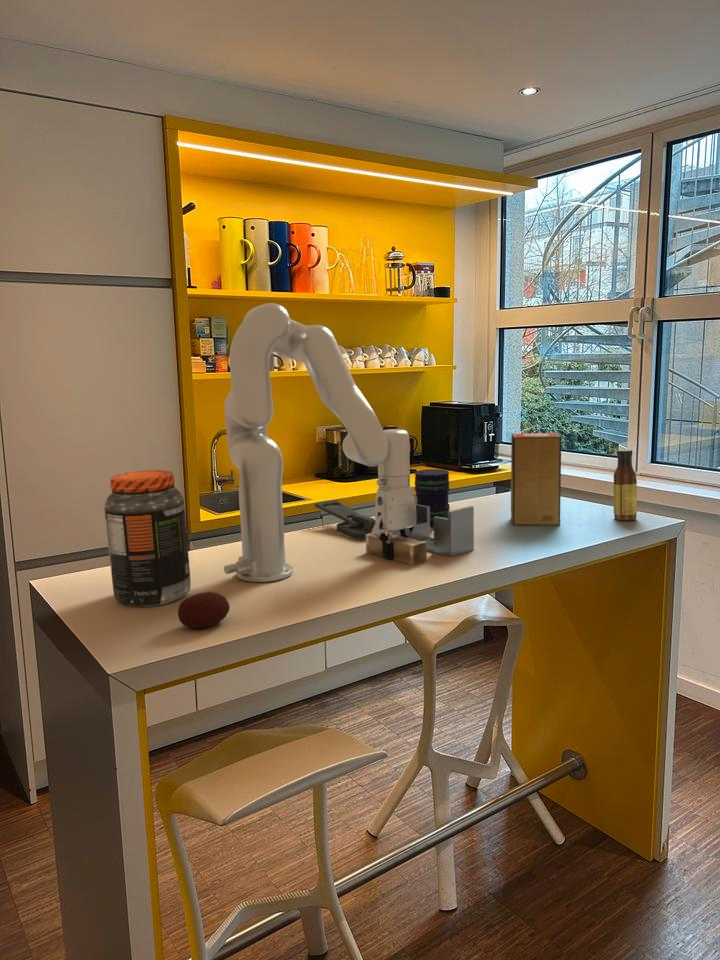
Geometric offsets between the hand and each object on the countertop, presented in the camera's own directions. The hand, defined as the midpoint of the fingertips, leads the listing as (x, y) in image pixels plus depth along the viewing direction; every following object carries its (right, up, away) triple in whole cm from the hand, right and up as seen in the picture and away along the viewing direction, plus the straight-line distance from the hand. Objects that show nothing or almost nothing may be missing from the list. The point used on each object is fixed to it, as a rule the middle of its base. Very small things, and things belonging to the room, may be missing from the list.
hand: (395, 555), depth 178 cm
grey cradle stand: (+10, +1, +9) cm, 13 cm away
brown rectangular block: (0, 0, 0) cm, 0 cm away
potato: (-37, -9, -41) cm, 56 cm away
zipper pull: (-12, +4, +28) cm, 31 cm away
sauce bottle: (+67, +7, +32) cm, 74 cm away
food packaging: (+41, +6, +32) cm, 52 cm away
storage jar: (+12, +6, +34) cm, 36 cm away
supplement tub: (-52, -6, -24) cm, 58 cm away
